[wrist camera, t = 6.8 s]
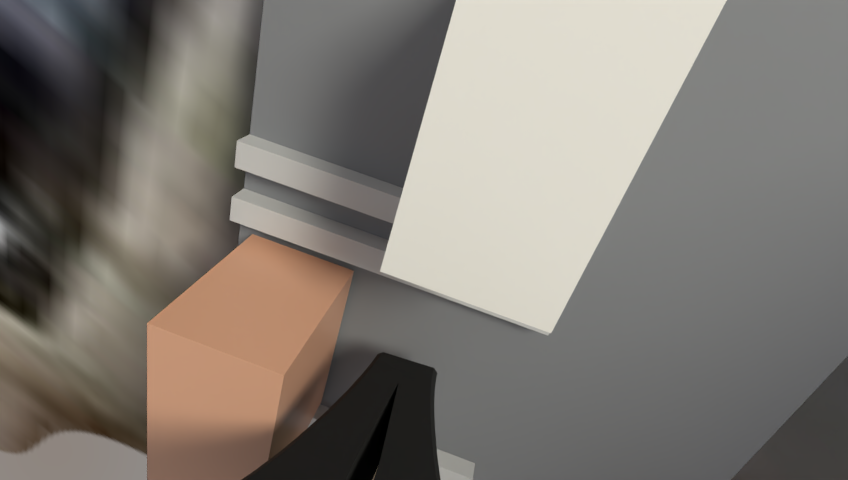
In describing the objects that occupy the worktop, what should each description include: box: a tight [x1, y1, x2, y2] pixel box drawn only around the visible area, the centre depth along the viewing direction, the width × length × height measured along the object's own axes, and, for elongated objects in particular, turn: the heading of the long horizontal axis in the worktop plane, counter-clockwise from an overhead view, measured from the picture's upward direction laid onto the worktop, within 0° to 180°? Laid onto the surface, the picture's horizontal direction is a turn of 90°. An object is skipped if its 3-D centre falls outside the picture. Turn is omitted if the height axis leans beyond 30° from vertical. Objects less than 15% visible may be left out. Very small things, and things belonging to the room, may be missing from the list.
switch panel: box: [230, 0, 848, 480], centre depth 9 cm, size 13×22×4 cm, turn 164°
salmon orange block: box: [147, 234, 354, 480], centre depth 11 cm, size 2×4×4 cm, turn 164°
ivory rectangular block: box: [380, 0, 727, 333], centre depth 7 cm, size 2×4×4 cm, turn 164°
